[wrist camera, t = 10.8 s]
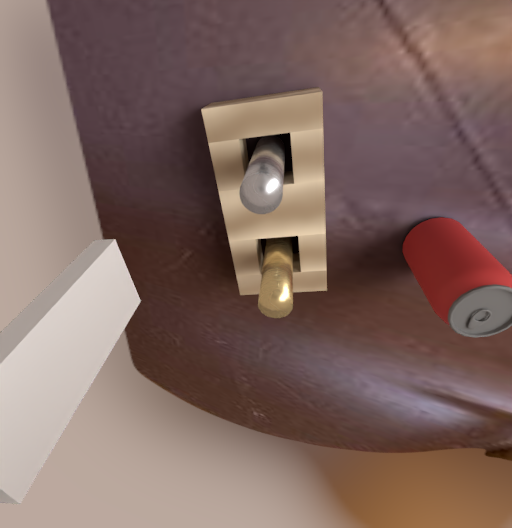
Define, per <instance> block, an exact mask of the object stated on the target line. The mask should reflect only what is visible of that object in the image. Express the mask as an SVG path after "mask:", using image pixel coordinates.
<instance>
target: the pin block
mask: <svg viewBox="0 0 512 528" xmlns="http://www.w3.org/2000/svg"><path fill="white" fill-rule="evenodd" d="M201 111H202V115H203V120H204V125H205V130H206V134H207V139H208V144H209V149H210V153H211V158H212V163H213V168H214V172H215V177H216V182H217V187H218V191H219V196H220V201H221V206H222V210H223V215H224V220H225V225H226V229H227V234H228V239H229V244H230V248H231V253H232V258H233V263H234V267H235V272H236V277H237V282H238V286H239V291H240V295H251V294H259V292H260V285H261V277H262V270H263V262H264V256H263V252H262V246H261V239H265V238H278V237H290V236H298V240H299V253H294V254H293V292H308V291H327V270H326V228H325V187H324V146H323V104H322V91H321V90H320V88H319V87H316V88H310V89H303V90H296V91H289V92H283V93H276V94H269V95H262V96H256V97H249V98H242V99H235V100H229V101H222V102H215V103H210V104H209V105H207V106H206V107H204V108H202V109H201ZM283 133H290V136H291V149H292V162H293V171H285V172H284V179H283V196H282V201H281V203H280V205H279V206H278V207H277V208H276V209H275V210H274V211H272V212H270V213H267V214H256V213H253V212H251V211H249V210H248V209H246V208H245V207H244V205H243V204H242V202H241V200H240V195H239V191H240V187H241V184H242V181H243V179H244V176H245V173H246V171H247V168H248V165H249V159H248V152H247V145H246V139H245V138H252V137H260V136H267V135H275V134H283Z"/></svg>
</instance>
